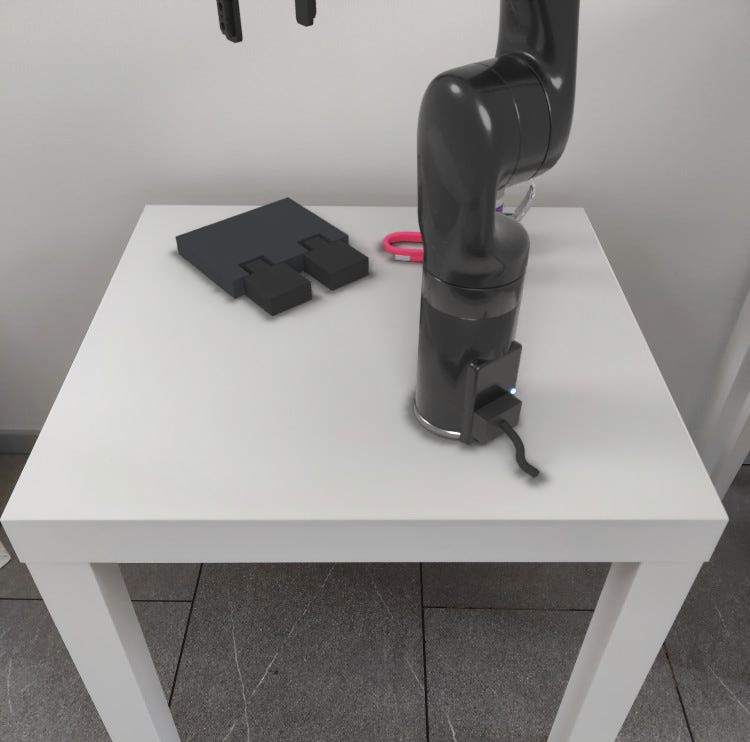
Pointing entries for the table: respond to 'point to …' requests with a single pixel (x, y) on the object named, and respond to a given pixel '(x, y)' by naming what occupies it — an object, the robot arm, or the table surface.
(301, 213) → the dark grey notched board
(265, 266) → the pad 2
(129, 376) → the table surface
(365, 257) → the black tabbed block
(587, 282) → the table surface
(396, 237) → the fitness band
